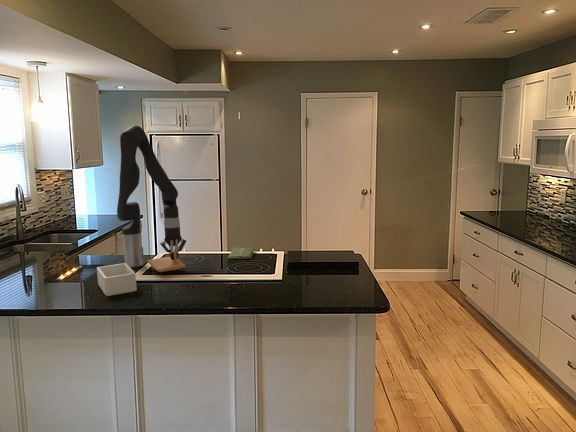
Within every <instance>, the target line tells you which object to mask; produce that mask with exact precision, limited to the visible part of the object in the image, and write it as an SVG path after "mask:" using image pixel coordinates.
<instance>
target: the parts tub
mask: <svg viewBox="0 0 576 432" xmlns="http://www.w3.org/2000/svg"><path fill="white" fill-rule="evenodd" d="M96 275H97V284H98V286H99V288H100V289H101V291H102V292H103V294H104V295H106V296H105V297H109V296H115V295H122V294H126V293H131V292H137V291H138V289H137V277H136V272H135V271H134V270H133V269H132V267H129V266H128V265H127V264H126V263H125V262H124V263H123V262H122V263H117V264H110V265H104V266H103V265H102V266H97V267H96Z"/></svg>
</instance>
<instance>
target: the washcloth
mask: <svg viewBox="0 0 576 432" xmlns="http://www.w3.org/2000/svg"><path fill="white" fill-rule="evenodd" d="M253 255H254V247H233V248H232V250H231V252H230V253H229V254H228V256H227V259H228V260H242V259H244V260H248V259H249V260H251V259H252V258H253Z"/></svg>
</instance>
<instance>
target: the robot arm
mask: <svg viewBox="0 0 576 432" xmlns="http://www.w3.org/2000/svg"><path fill="white" fill-rule="evenodd" d="M119 143H120V146H119V147H120V171H119V191H118V200H117V207H116V208H117V209H116V216H117V219H118V220H119V221H120V222H126V221H129V222H130V221H131V222H130V223H129V224H128V225H126V226H124V227H123V228H122V229H121V234H122V235H121V236H122V248H123V257H124V259H123V260H124V263H126V264H127V265H128V266H129V267H130V268H137V267H142V266H145V256H144V247H143V244H142V243H143V242H142V234H141V232H142V231H141V230H142V229H141V227H142V226H141V209H140V208H141V207H140V204H139V203H138V202H137V201H129V198H130V196H131V195H132V194H133V193H134V191H135V190H136V189H137V188H138V186H139V183H140V177H141V176H140V175H141V173H140V172H141V170H140V167H139V164H138V163H137V161H136V157H137V150H138V149H139V150H140V152H141V154H142V156H143V161H144V165H145V169H146V171H147V174H148V175H149V177H150V178H151V180H152V181H153V182H154V184H155V185H156V186H157V188H158V189H159V190H160V192H161V199H162V205H163V217H164V219H163V228H164V240H162V242H159V245H161V247H162V248H163V250H164V251H165V252H166V253H168V254H169V257H170V258H171V259H172V260H174V253H173V251H176V254H177V259H178V260H179V252H181V251H182V250H183V248H184V246H185V245H186V242H187V240H186V239H185V238H182V236H181V223H180V217H179V216H180V215H179V207H178V205H177V204H178V203H177V198H178V196H179V191H178V189H177V188H176V186H175V185H174V184H173V182H172V180H170V178H169V177H168V174H167V173H166V171H165V170H164V168H163V167H162V165H161V163H160V162H159V160H158V158H157V156H156V153H155V152H154V150H153V147H152V145H151V143H150V140H149V137H148V136H147V134H146V132H145V130H144V129H143V128H142V127H141V126H139V125H131V126H130V127H128V128H127V129H125V130H123V131H122V132H121V134H120V138H119ZM128 201H129V202H128ZM166 245H168V247H167V246H166Z"/></svg>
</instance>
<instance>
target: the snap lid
mask: <svg viewBox="0 0 576 432" xmlns="http://www.w3.org/2000/svg"><path fill="white" fill-rule="evenodd" d="M173 253H174V260H172V259H171V258H170V256H166V257H159V258H152V259H151V258H150V259H147V261H146V262H147V264H149V265H150V266H151V267H152V268H153V269H154V270H155V271H156V272H159V273H163V272H169V271H175V270H177V271H178V270H181V269H183V268H186V264H184V263H183V262H182V261H181V260H179V258H178V259H177V254H176V251H175V250H173Z"/></svg>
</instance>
